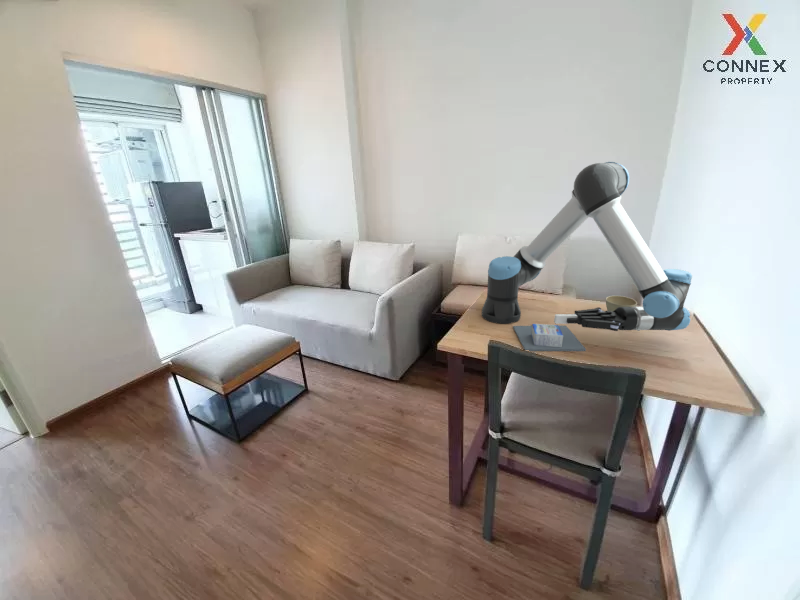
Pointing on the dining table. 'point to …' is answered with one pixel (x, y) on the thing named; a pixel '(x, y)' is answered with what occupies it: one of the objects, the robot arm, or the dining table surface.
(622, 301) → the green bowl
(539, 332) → the medicine box
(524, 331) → the slate mat
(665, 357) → the dining table surface
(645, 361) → the dining table surface
